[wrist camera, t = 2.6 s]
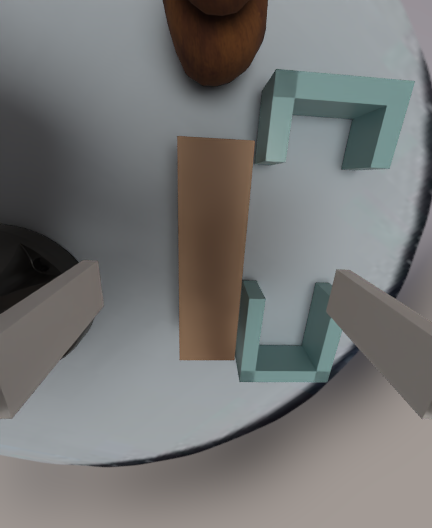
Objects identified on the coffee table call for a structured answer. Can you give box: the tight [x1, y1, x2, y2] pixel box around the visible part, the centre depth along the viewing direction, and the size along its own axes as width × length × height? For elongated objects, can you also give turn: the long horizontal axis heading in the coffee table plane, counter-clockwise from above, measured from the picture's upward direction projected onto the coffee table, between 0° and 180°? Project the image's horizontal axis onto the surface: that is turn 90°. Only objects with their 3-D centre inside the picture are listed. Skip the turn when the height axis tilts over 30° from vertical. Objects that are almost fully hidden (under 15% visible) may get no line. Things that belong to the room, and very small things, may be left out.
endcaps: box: [235, 69, 415, 382], centre depth 22 cm, size 10×27×4 cm, turn 177°
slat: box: [177, 136, 255, 360], centre depth 21 cm, size 5×18×6 cm, turn 177°
